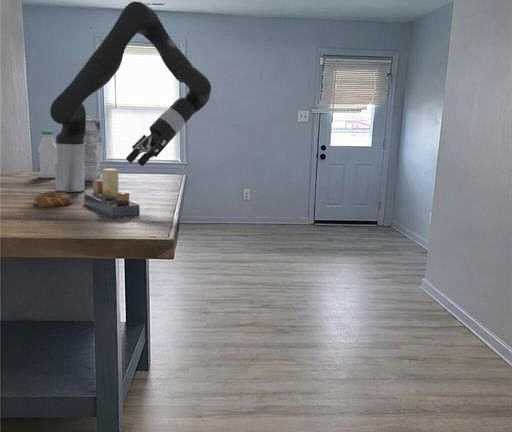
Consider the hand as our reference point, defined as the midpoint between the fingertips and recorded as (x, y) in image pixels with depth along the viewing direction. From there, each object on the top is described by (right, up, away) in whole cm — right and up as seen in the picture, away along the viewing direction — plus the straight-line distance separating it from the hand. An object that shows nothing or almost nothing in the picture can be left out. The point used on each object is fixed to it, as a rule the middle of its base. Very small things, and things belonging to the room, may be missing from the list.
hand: (133, 162), depth 142 cm
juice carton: (-35, -1, +56) cm, 66 cm away
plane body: (-7, -15, -2) cm, 16 cm away
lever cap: (-6, -11, -2) cm, 13 cm away
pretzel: (-26, -13, +3) cm, 30 cm away
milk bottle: (-52, 0, +57) cm, 77 cm away
